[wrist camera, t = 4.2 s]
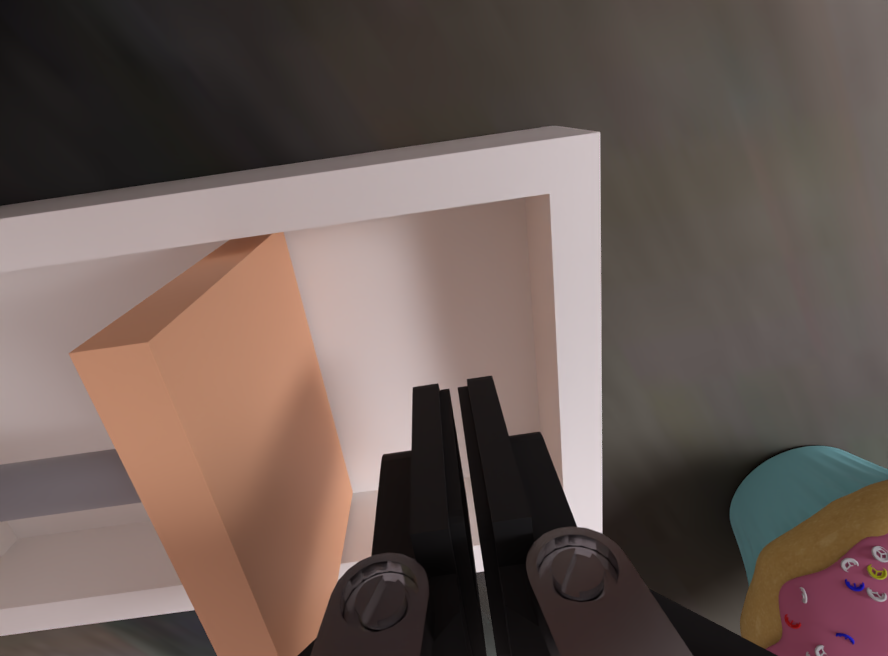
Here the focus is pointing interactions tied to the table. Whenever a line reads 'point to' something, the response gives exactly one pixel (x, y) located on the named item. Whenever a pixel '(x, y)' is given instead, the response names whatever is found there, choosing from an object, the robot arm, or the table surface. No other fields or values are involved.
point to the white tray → (312, 329)
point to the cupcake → (814, 553)
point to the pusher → (215, 447)
